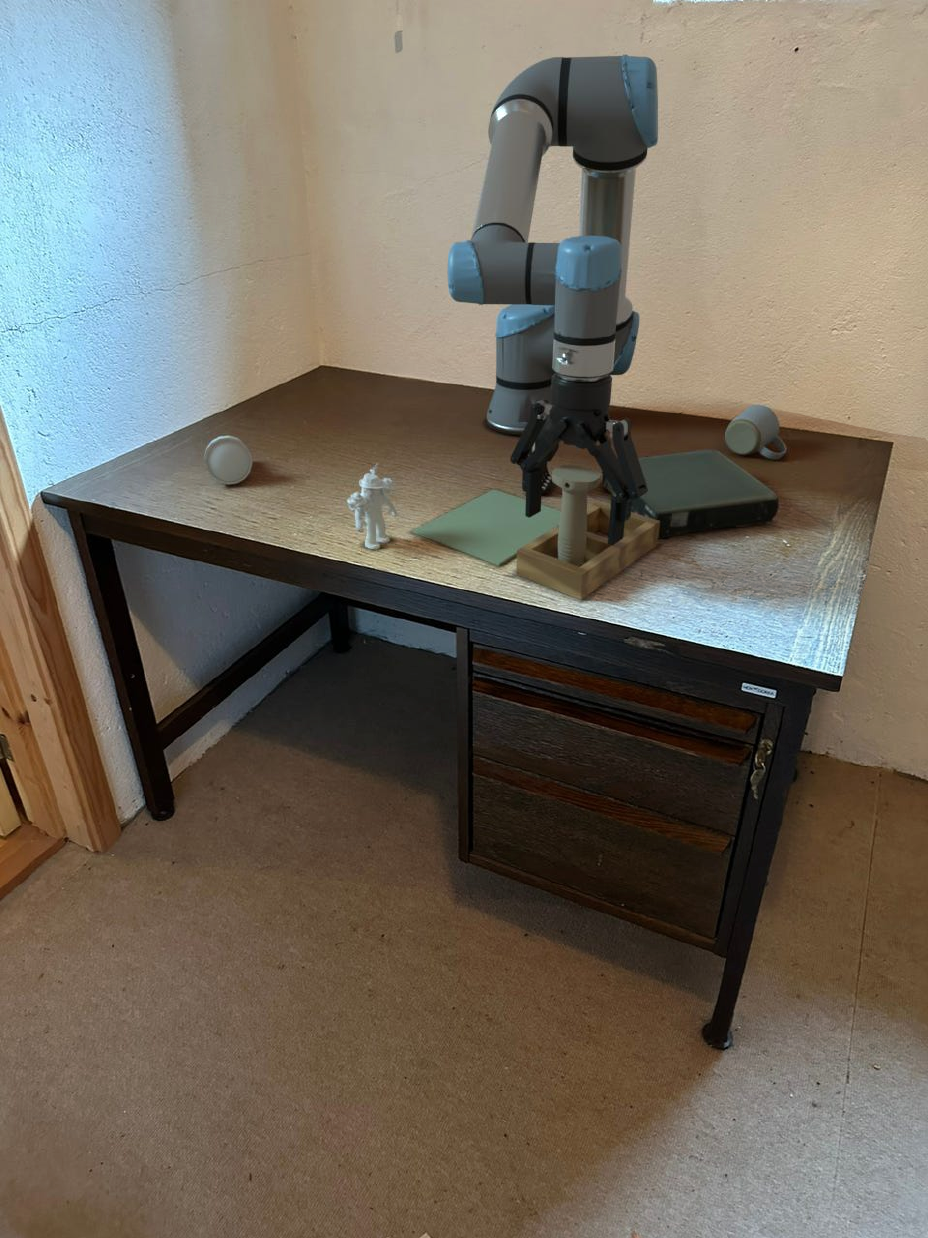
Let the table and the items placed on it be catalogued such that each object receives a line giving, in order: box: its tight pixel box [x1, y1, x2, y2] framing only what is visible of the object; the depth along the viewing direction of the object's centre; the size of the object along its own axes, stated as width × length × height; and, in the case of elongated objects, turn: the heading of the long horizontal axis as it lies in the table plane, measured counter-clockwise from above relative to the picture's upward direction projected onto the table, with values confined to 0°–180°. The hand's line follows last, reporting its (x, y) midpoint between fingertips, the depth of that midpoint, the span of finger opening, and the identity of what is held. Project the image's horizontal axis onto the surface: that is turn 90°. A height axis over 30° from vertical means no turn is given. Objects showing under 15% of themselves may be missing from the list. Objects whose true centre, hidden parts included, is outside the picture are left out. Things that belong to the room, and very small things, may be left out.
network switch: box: [601, 448, 780, 539], centre depth 138 cm, size 23×24×5 cm
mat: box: [412, 488, 561, 567], centre depth 134 cm, size 20×17×1 cm
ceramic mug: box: [724, 404, 788, 461], centre depth 156 cm, size 11×8×8 cm
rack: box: [515, 501, 660, 601], centre depth 124 cm, size 20×11×4 cm, turn 140°
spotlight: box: [203, 435, 253, 486], centre depth 152 cm, size 8×11×8 cm
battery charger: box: [528, 421, 560, 496], centre depth 143 cm, size 7×4×11 cm, turn 162°
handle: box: [551, 465, 601, 567], centre depth 118 cm, size 5×6×15 cm
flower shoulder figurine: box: [346, 461, 398, 550], centre depth 127 cm, size 9×4×12 cm, turn 144°
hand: (572, 527), depth 118 cm, fingers open, 13 cm apart
